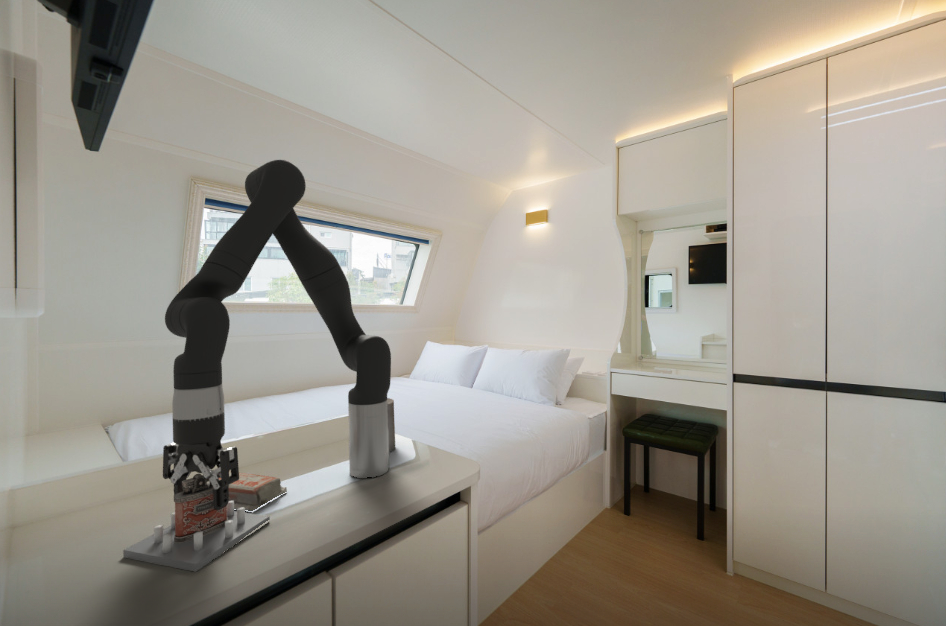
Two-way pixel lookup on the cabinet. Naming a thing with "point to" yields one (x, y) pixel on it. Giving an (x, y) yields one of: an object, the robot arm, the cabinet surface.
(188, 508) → the lighter
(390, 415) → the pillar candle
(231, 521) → the pin tray
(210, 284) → the robot arm
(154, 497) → the cabinet surface
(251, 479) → the packaged product
